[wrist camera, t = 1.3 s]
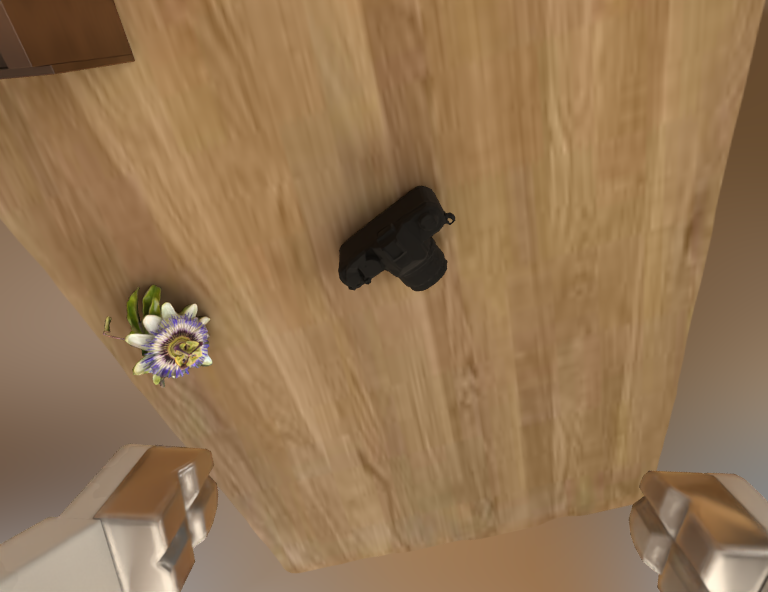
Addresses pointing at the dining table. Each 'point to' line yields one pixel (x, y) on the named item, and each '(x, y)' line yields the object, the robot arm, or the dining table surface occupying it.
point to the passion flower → (165, 337)
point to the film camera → (398, 244)
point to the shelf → (59, 37)
